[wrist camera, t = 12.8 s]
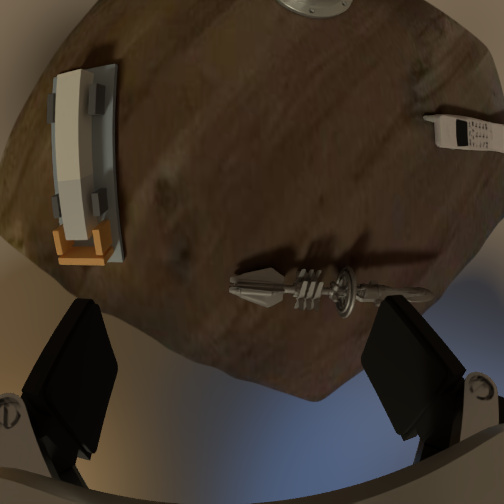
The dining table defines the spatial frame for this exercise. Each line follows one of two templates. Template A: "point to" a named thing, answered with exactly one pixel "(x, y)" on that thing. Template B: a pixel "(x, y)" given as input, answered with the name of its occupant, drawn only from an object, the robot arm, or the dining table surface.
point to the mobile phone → (467, 133)
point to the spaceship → (318, 290)
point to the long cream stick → (74, 153)
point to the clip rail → (94, 177)
